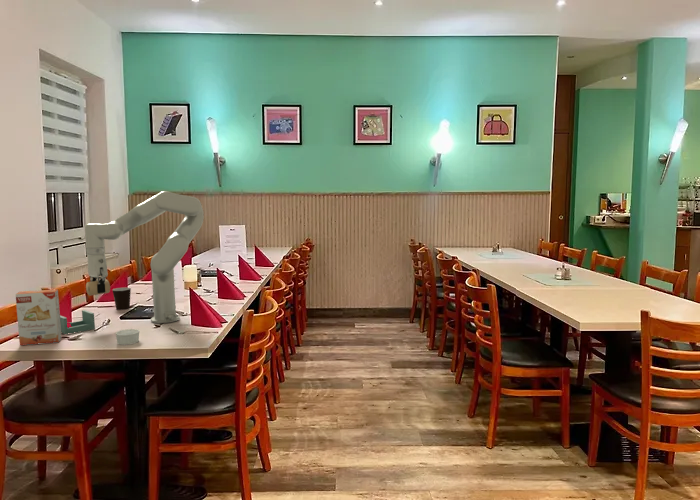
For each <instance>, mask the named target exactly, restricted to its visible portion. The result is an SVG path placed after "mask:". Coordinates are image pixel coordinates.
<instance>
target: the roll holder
mask: <svg viewBox="0 0 700 500" xmlns="http://www.w3.org/2000/svg"><path fill="white" fill-rule="evenodd" d="M81 317H82V319H81V320H78V321H71V322H69V323H70V324H71V326H72V327H69V328H68V327H67V323H68V318H67V317H66V316H63V315H60V323H61V332H62V333H64V334H67V335H69V334H68V333H72V334H75V333H74V332H77V333H81V332H80V331H82V332H86V331H90V330H91V331H92V330H95V329H96V324H95V313H94V312H92V311H89V310H86V309H83V310H81ZM62 333H61V334H62ZM64 334H63V335H64Z"/></svg>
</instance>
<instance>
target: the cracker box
mask: <svg viewBox="0 0 700 500" xmlns="http://www.w3.org/2000/svg"><path fill="white" fill-rule="evenodd" d="M15 303H16V304H15V305H16V316H17V328H18V339H19V341H18V342H19V346H20V345H21V346H28V345H27V344H33V345H39V344H38V343H45V344H54V343H53V342H58V343H59V342H60V341H61V340H62V333H61V323H60V316H61V313H60V312H61V311H60V299H59V289H45V290H44V289H43V290H42V289H41V290H39V289H38V290H25V291H24V290H23V291H18V292H17V293H15Z"/></svg>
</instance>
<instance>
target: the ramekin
mask: <svg viewBox="0 0 700 500" xmlns="http://www.w3.org/2000/svg"><path fill="white" fill-rule="evenodd" d="M114 334H115V337H116V343H117V345H120V346H126V345H127V346H128V345H133V344H136V343H138V342H139V340H140V330H139V329H136V328H131V329H129V328H128V329H121V330H117V331H116V332H115V333H114Z"/></svg>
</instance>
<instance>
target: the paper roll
mask: <svg viewBox="0 0 700 500" xmlns="http://www.w3.org/2000/svg"><path fill="white" fill-rule="evenodd" d="M97 284H98V282H97V281H92V282H90V281H87V282H86V284H85V291H86V293H87V295H88V296H89V297H90V296H91V297H92V296H97V295H102V294H103V295H104V294H109V293H110V292H111V284H110V282H109V280H108V279H105V293H98V292H97Z"/></svg>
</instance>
